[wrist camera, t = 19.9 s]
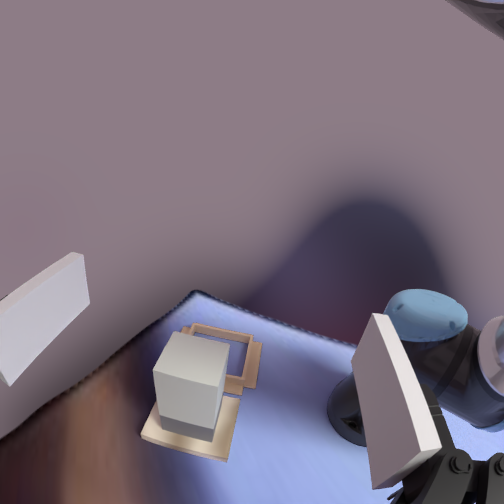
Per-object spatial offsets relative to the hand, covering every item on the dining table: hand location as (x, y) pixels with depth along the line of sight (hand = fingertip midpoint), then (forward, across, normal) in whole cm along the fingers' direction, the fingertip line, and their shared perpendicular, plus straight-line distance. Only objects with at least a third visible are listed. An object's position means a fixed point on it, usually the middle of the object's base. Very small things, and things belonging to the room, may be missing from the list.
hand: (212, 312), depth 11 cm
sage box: (+12, -4, -28) cm, 31 cm away
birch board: (+12, -4, -30) cm, 33 cm away
